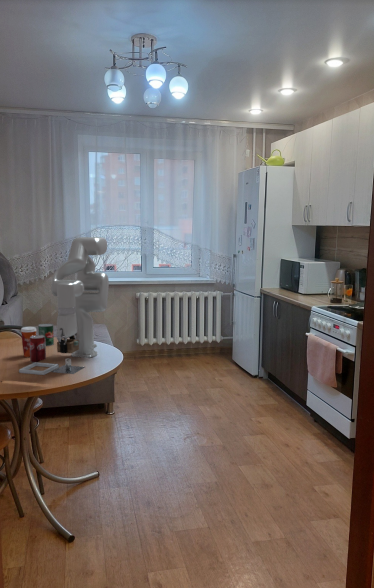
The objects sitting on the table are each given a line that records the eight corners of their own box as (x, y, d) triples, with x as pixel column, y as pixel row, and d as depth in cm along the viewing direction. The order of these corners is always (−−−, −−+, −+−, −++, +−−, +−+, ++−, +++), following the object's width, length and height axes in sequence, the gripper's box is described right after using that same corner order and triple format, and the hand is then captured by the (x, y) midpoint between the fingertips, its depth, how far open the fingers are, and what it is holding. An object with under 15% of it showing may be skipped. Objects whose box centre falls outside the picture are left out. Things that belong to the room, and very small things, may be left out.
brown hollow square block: (65, 348, 212) (65, 338, 211) (81, 349, 210) (81, 339, 209) (57, 352, 206) (56, 342, 205) (73, 353, 204) (73, 343, 203)
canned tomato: (40, 343, 263) (40, 323, 262) (55, 342, 264) (54, 323, 263) (37, 346, 256) (36, 326, 254) (52, 346, 256) (51, 326, 255)
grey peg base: (63, 367, 215) (63, 355, 214) (85, 369, 212) (85, 356, 212) (50, 374, 205) (50, 361, 204) (73, 376, 202) (73, 363, 201)
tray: (35, 367, 215) (35, 362, 215) (58, 369, 212) (58, 364, 212) (19, 375, 204) (19, 369, 203) (43, 377, 201) (43, 371, 200)
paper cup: (25, 358, 231) (24, 330, 229) (19, 355, 237) (17, 327, 235) (40, 355, 236) (39, 328, 234) (34, 352, 242) (33, 325, 240)
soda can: (47, 359, 230) (47, 334, 228) (43, 363, 223) (42, 338, 221) (32, 359, 230) (31, 335, 228) (28, 363, 222) (27, 338, 221)
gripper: (69, 306, 214) (70, 345, 217) (48, 314, 198) (50, 355, 201) (84, 307, 212) (85, 346, 215) (64, 315, 196) (65, 356, 199)
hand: (68, 350), depth 208 cm, fingers closed on brown hollow square block, 6 cm apart
